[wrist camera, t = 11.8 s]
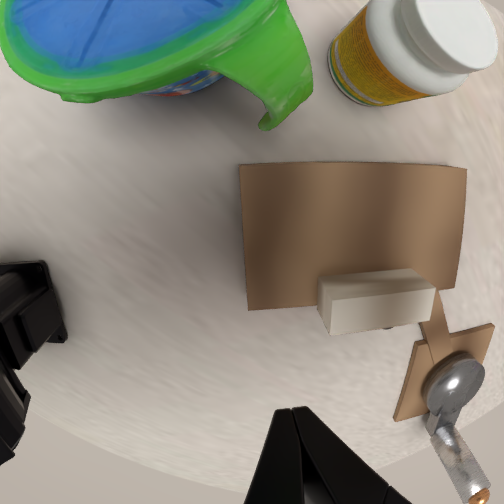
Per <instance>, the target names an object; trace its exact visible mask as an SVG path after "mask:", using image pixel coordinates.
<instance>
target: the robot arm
mask: <svg viewBox="0 0 504 504" xmlns="http://www.w3.org/2000/svg"><path fill="white" fill-rule="evenodd" d="M39 266H40V267H41V269H42V270H40V268H39ZM60 336H61V337H62V338H61V337H60ZM66 340H67V334H66V331H65V328H64V325H63V322H62V319H61V315H60V312H59V309H58V306H57V302H56V299H55V296H54V292H53V289H52V285H51V281H50V277H49V273H48V269H47V266H46V264H45V263H44V262H43V261H26V262H13V263H0V465H2V464H3V463H5V462H6V461H8V460H10V459H11V458H13V457H14V456H15V453H14V452H13V450H14V449H15V448H16V446H17V445H18V443H19V441H20V439H21V437H22V435H23V433H24V431H25V425H24V421H25V418H26V414H27V410H28V406H29V402H30V399H31V396H30V394H29V393H28V391H27V390H25V388H24V387H23V385H22V384H21V382H20V380H19V379H18V377H17V375H16V373H15V372H14V371H15V369H17V370H20V369H21V368H22V367H23V366H24V364H25V363H26V362H27V361H28V359H29V358H30V357H31V356H32V355H33V353H36V352H38V350H39V349H40V348H41V347H42V346H43V344H44V343H45V342H49V343H64V342H65V341H66ZM388 486H389V484H388V483H387V482H386V481H385V480H384V479H383V478H382V477H380V476H379V475H378V474H377V473H376V472H375V471H374V470H373V469H372V468H371V467H369V466H368V465H367V464H366V463H365V462H364V461H363V460H362V459H361V458H360V457H359V456H358V455H357V454H355V453H354V452H353V451H352V450H351V449H350V448H349V447H348V446H347V445H346V444H345V443H344V442H343V441H342V440H341V439H340V438H339V437H338V436H337V435H336V434H335V433H334V432H333V431H332V430H331V429H330V428H328V427H327V426H326V425H325V424H324V423H323V422H322V421H321V420H320V419H319V418H318V417H317V416H316V415H315V414H314V413H313V412H312V411H311V410H310V409H309V408H308V407H307V406H301V407H294V408H292V409H290V408H285V409H277V410H275V412H274V415H273V418H272V421H271V424H270V428H269V431H268V434H267V437H266V440H265V443H264V446H263V449H262V452H261V455H260V458H259V461H258V464H257V467H256V470H255V473H254V476H253V479H252V482H251V485H250V488H249V490H248V493H247V496H246V499H245V501H244V504H412V503H411V502H410V501H408V500H407V499H406V498H405V497H403V496H402V495H401V494H400V493H399V492H397V491H396V490H395V489H394V488H393V487H392V486H389V487H388Z"/></svg>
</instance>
